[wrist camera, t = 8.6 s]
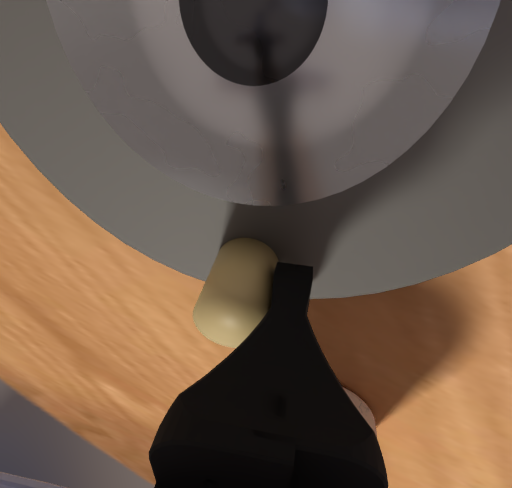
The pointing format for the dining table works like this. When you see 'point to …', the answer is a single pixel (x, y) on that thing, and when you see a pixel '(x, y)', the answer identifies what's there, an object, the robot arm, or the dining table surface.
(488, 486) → the dining table surface
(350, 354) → the dining table surface
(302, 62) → the cover
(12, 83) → the turntable
